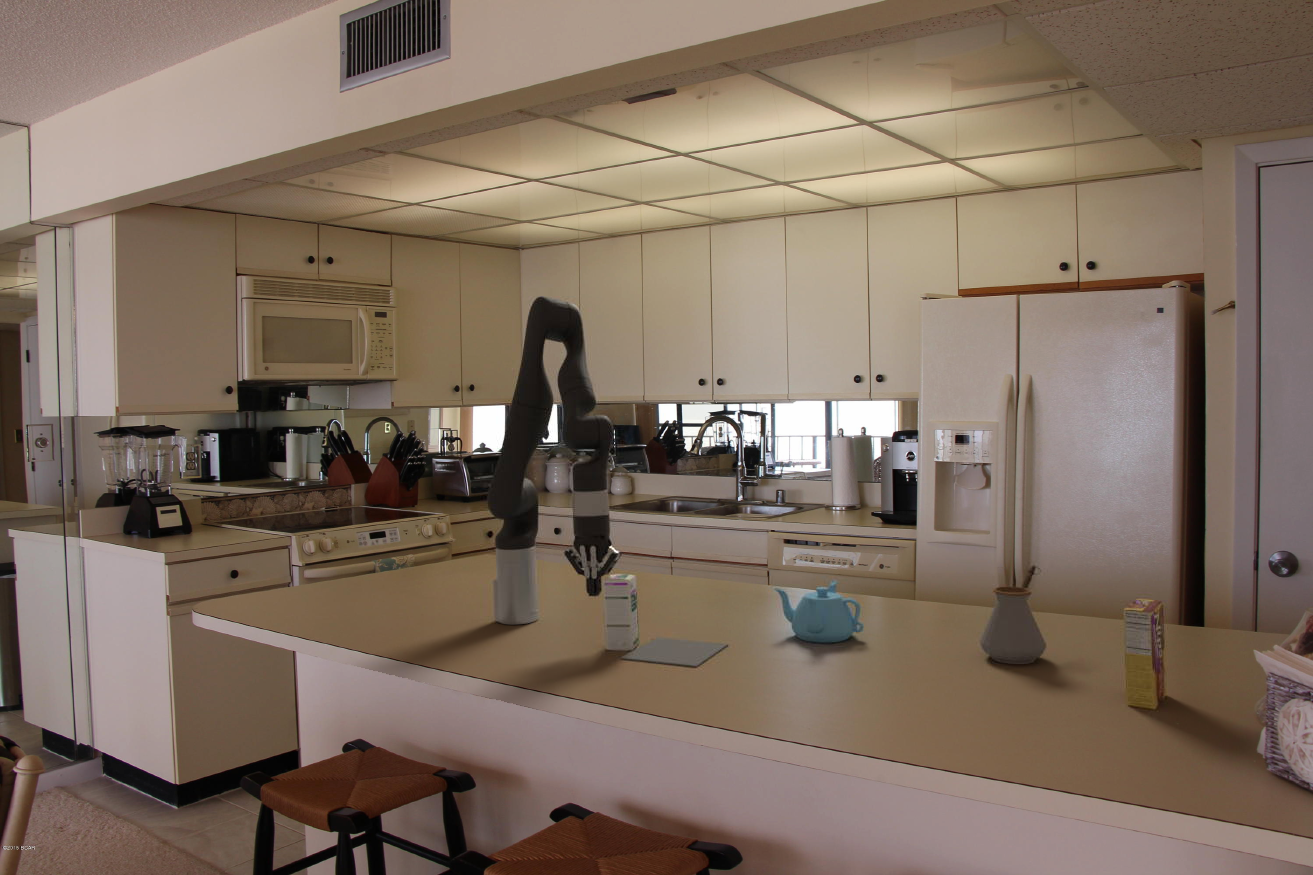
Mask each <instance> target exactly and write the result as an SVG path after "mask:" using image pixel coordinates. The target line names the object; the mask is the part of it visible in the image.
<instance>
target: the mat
mask: <svg viewBox="0 0 1313 875" xmlns="http://www.w3.org/2000/svg"><path fill="white" fill-rule="evenodd" d="M726 646H727V647H729V643H723V642H722V643H721V642H710V641H700V640H689V639H681V638H680V639H679V638H667V637H660V636H658V637H655V638H652V639H651V640H650V641H648V642H647V643H644V644H643V645H641V646H639V647H638V648H637V647H636V649H635V648H634V649H633V650H632V651H631V652H628V653H627V654H624V655H623V656H621V657H620V660H625V661H626V660H627V661H634V662H643V663H652V664H662V665H673V666H681V667H690V668H698V667H699V666H701V665H702V664H704V663H705V662H706V661H708V660H709V659H711V658H713V657H714V656H716V655H717V654H718V653H719V651H720V652H721V651H722V650H724V649H726V648H727V647H726ZM716 653H717V654H716ZM703 662H704V663H703ZM700 664H701V665H700Z"/></svg>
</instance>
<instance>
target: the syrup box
mask: <svg viewBox="0 0 1313 875" xmlns="http://www.w3.org/2000/svg"><path fill="white" fill-rule="evenodd" d="M602 590H603V591H602V592H603V612H604V613H603V614H604V630H605V631H604V632H605V634H604V635H605V647H606V648H605V649H606V650H608V651H625V652H626V651H627V652H629V651H631V652H632V651H634V650H635V648H637V646H638V645H639V644H640V632H639V629H640V628H639V612H638V611H639V608H638V593H637V591H638V590H637V576H636V574H631V573H630V574H629V573H617V574H610V575H609V576H607V577H606V578H605V579H603V580H602Z"/></svg>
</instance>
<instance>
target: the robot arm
mask: <svg viewBox="0 0 1313 875" xmlns="http://www.w3.org/2000/svg"><path fill="white" fill-rule="evenodd" d="M547 340H548V341H552V342H556V343H557V342H558V343H563V346H564V348H565V351H566V355H565V358H564V360H563V362H562V363H561V366H560V368H559V370H558V373H557V378H556V379H557V389H558V391H559V396H560V399H561V403H562V409H563V421H562V430H561V434H562V435H561V437H562V442H563V443H564V445H565V446H566V447H567V448H568V449H570V450H571V451H586V450H587V451H588V450H593V454H592V455H591V457H590V458H588V459H585V460H583V461H579V462H576V463H575V464H573V466H572V490H573V491H572V522H573V523H572V524H573V526H572V527H573V528H572V529H573V535H574V539H573V542H572V543H573V544H572V547H570V548H569V549H567V550H565V551H563V552H564V556H565V558H566V559H567V560H568V562H569V563H570V565H571V566H572V567H573V569H574V571H575V572H576V573H577V574H578V575H579V576H583V577H584V578H585V588H586V589H585V590H586V594H588V596H589V597H599V596H600V594H601V593H602V592H603V591H602V590H603V585H602V577H603V576H606V575H609V574H610V573H611V571H612V570H613V568H614V567H615V566H616V564H617V562H618V561H619V559H620V558H621V556H622V555H623V554H622V551H621V550H617V549H616V548H614V547H613V546H612V545H613V543H612V540H611V539H610V536H611V535H610V534H611V522H610V520H611V518H610V499H609V495H608V479H607V474H608V473H607V470H608V464H609V463H608V462H609V457H610V454H611V453H610V452H611V450H612V449H611V448H612V443H613V441H614V436H615V435H614V433H615V429H614V425H613V422H612V420H611V419H610V418H609V417H608V416H607V415H603V414H593V415H590V413H592V412H593V411H594V410H595V408H596V407H597V399H596V395H595V391H594V389H593V385H592V381H591V378H590V375H589V369H588V365H587V355H586V343H585V342H586V341H585V334H584V325H583V317H582V314H581V311H580V308H579V307H578V306H577V305H576V304H574V303H572V302H570V301H569V302H568V301H564V300H561V299H556V298H552V297H549V296H548V297H547V296H542V295H541V296H538V297H536V298H535V299H534V301H533V302H532V304H531V306H530V309H529V312H528V315H527V321H526V328H525V335H524V340H523V348H522V349H523V350H522V356H521V362H520V366H519V372H518V374H517V376H518V377H517V380H516V385H515V388H514V392H513V395H512V400H511V405H510V409H509V413H508V419H507V425H506V429H505V432H504V436H503V441H502V445H501V450H500V453H499V458H498V461H497V464H496V466H495V470H494V473H493V476H492V478H491V481H490V484H489V488H488V491H487V498H486V500H487V507H488V510H489V512H490V513H491V515H492V516H493V517H494V518H495V519H498V520H503V524H502V526H501V529H500V531H499V532H498V533H497V534H496V536H495V537H494V544H495V545H494V546H495V564H496V565H495V567H496V570H495V572H496V579H494V580H493V581H492V586H493V589H492V590H493V613H494V616H493V617H494V622H498V623H500V624H503V625H523V624H524V625H525V624H530V623H534V622H536V621H537V620H538V619H539V602H538V600H539V599H538V582H537V581H538V580H537V578H538V576H537V551H536V550H537V547H536V539H537V535H538V533H539V495H538V491H537V488H536V485H535V484H534V483H533V482H532V480H530V479H528V478H527V477H526V472H527V468H528V466H529V462H530V461H531V459H532V458H533V455H534V453H535V451H536V450H537V448H538V447H539V445H540V443H541V442H542V440H543V439H544V437H545V435H546V432H547V430H548V428H549V424H550V421H551V416H552V411H553V408H554V401H555V400H554V394H553V389H552V387H551V384H550V381H549V378H548V376H547V372H546V368H545V364H544V351H545V350H544V349H545V343H546V341H547ZM588 414H589V415H588ZM605 558H607V559H606V561H605Z"/></svg>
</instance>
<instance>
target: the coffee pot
mask: <svg viewBox="0 0 1313 875" xmlns="http://www.w3.org/2000/svg"><path fill="white" fill-rule="evenodd" d="M1036 569H1038V570H1039V572H1038V573H1035V571H1036ZM1041 572H1042V571H1041V568H1039V567H1038V566H1036V565H1035V564H1034V565H1032V566H1030V567H1028V571H1027V574H1026V575H1025V577H1024V579H1023V582H1022V584H1021V586H998V587H995V588H993V589H992V591H993V593H995V597H996V601H995V604H994V607H993V609H992V610H991V611H992V612H991V613H990V616H989V618H988V619H987V622H986V625H985V628H984V630H983V632H982V634H981V637H980V639H979V643H980V646H981V649H982V650H983V651H984V652H985V653H986V654H987V655H988V656H990V659H992V661H993V660H994V661H995V662H998V663H1003V664H1008V665H1009V664H1010V665H1027V664H1028V665H1029V664H1031V663H1035V661H1036V659H1038V658H1040V657H1042V656H1043V654H1044V653H1045V650H1046V649H1047V643H1046V641H1045V639H1044V636H1043V635H1042V633H1041V630H1040V628H1039V626H1038V623H1037V621H1036V619H1035V618H1034V614H1033V613H1032V611H1031V608H1030V606H1029V604H1028V602H1027V601H1028V599H1029V597H1030V596H1031V594H1032V590H1030V589H1028V587H1029V586H1030V583H1031V582H1032V580H1033V579H1032V578H1033V576H1034V575H1036V576H1037V575H1040V574H1041Z"/></svg>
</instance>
